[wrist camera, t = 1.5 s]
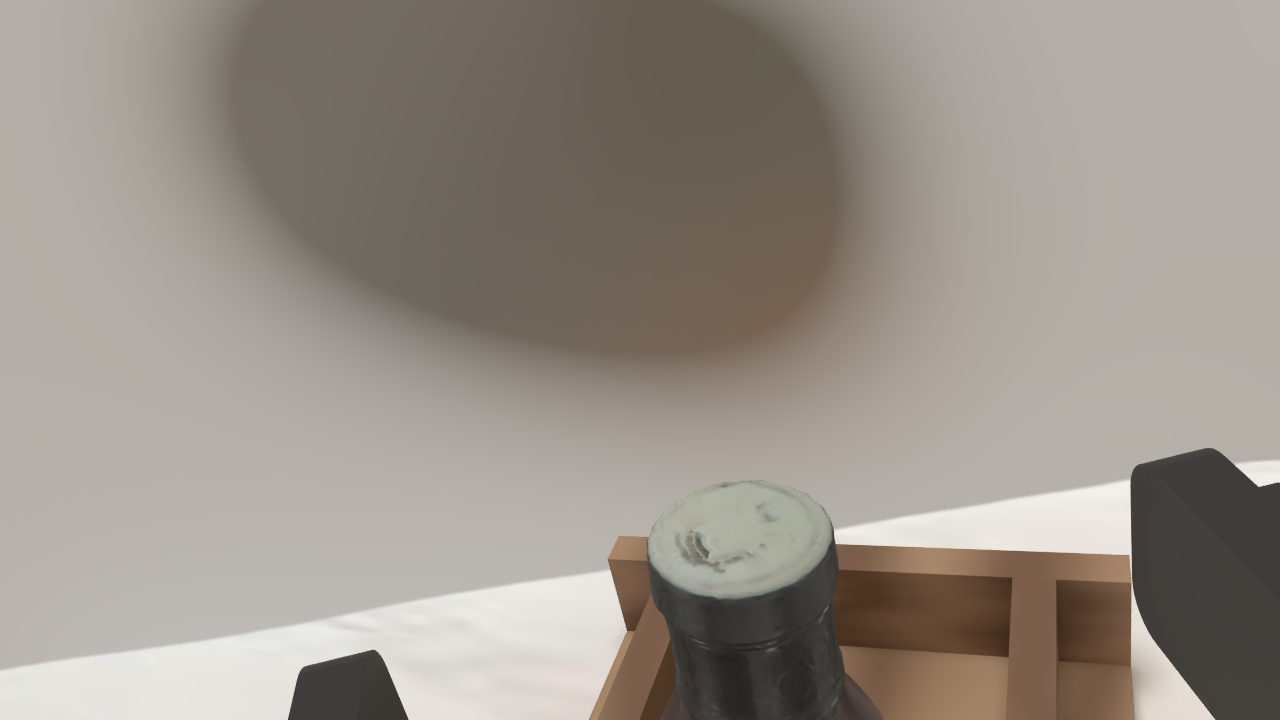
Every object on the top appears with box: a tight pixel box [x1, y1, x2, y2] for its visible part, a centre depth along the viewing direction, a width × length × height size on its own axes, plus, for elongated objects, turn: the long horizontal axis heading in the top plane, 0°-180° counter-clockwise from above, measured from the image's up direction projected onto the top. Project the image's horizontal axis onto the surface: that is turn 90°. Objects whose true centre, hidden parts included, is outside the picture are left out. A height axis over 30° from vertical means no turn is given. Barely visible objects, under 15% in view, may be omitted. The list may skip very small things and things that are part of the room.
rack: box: [589, 536, 1135, 720], centre depth 41 cm, size 20×12×6 cm, turn 73°
